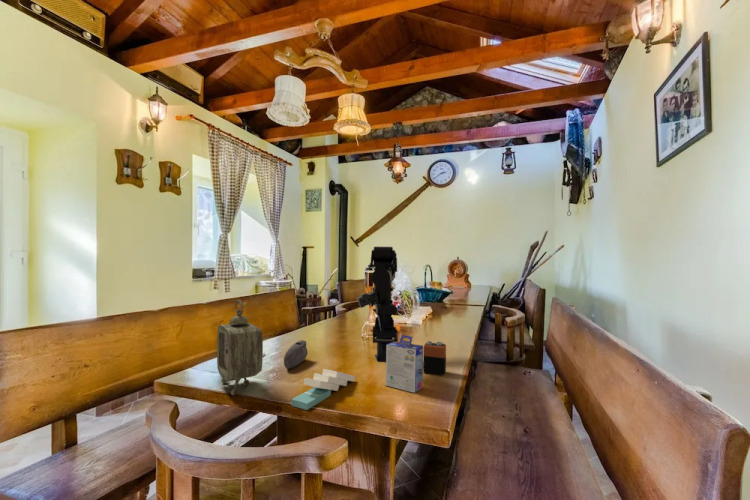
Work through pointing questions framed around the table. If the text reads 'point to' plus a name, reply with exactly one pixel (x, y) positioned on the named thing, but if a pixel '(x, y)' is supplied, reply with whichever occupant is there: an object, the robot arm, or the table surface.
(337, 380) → the domino
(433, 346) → the battery
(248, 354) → the tabletop clock
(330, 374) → the domino
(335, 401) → the table surface
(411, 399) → the table surface
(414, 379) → the ink cartridge box
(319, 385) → the domino
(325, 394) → the domino
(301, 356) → the perforated stone tool
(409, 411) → the table surface
